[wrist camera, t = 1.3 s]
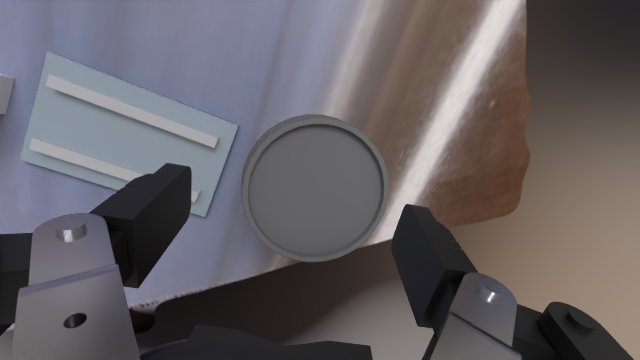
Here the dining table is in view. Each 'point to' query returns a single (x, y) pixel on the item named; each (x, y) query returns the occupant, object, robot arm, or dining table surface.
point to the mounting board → (121, 131)
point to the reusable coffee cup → (314, 188)
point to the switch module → (5, 91)
